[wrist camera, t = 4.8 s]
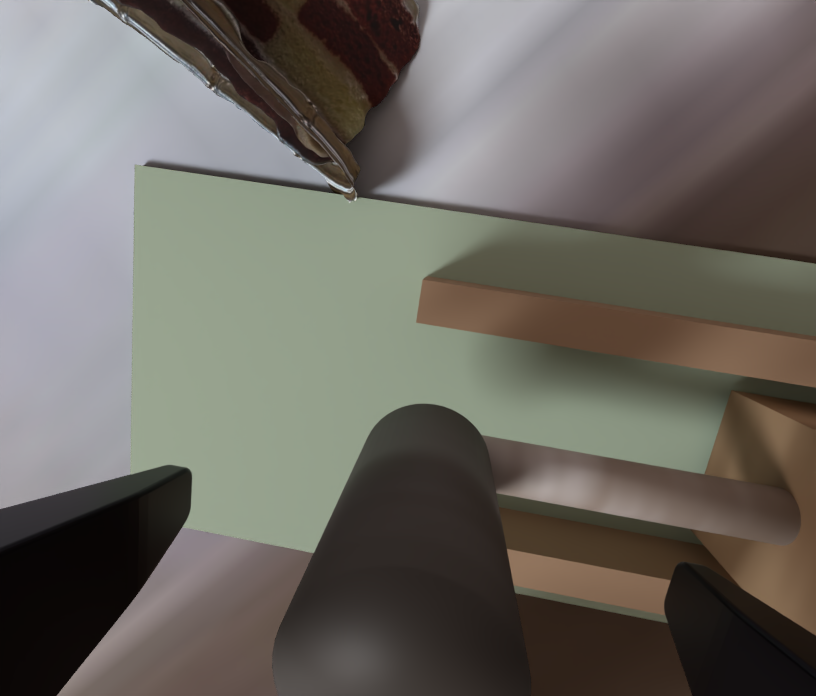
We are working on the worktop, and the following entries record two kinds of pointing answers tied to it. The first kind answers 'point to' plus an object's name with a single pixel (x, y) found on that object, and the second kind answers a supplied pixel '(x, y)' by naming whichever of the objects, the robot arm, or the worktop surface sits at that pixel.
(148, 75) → the worktop surface
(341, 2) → the chocolate cake
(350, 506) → the sled
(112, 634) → the worktop surface
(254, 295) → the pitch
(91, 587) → the robot arm
